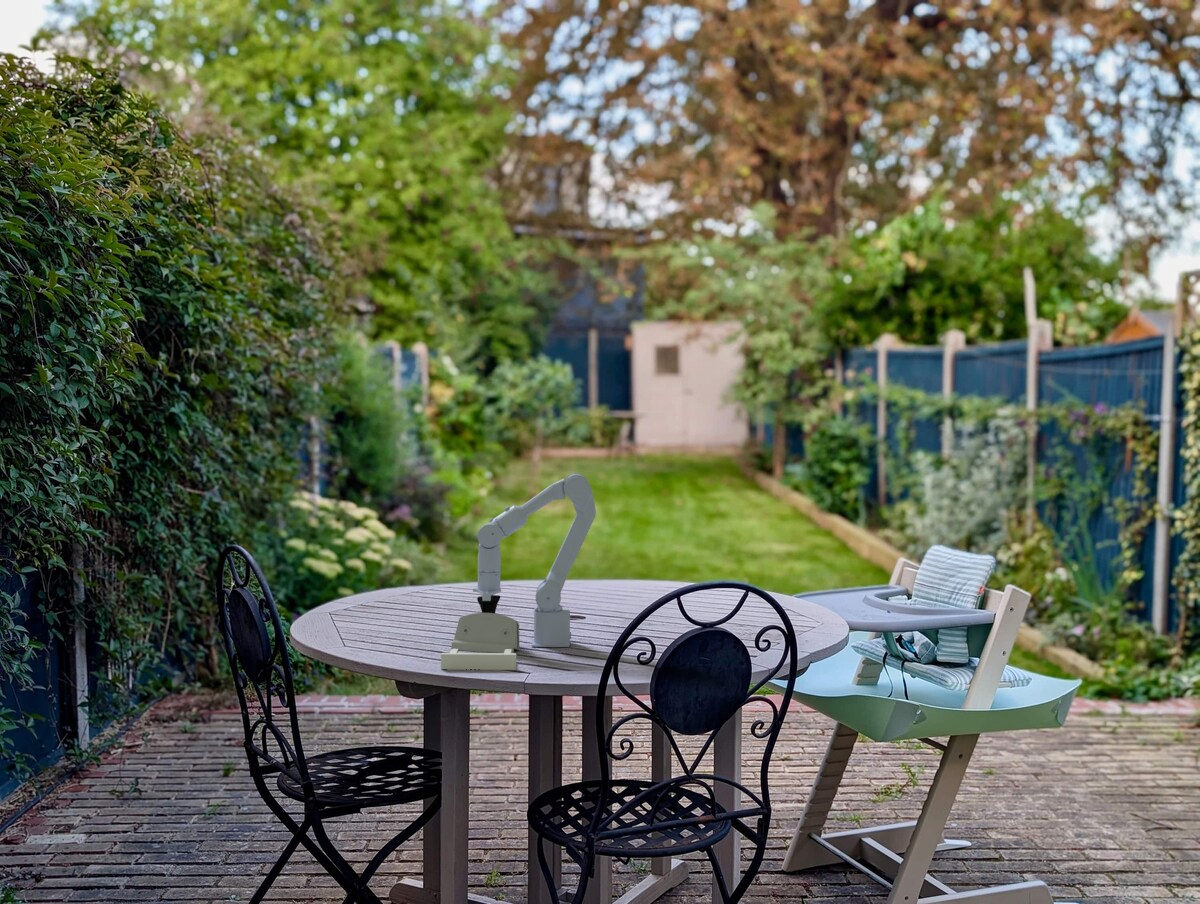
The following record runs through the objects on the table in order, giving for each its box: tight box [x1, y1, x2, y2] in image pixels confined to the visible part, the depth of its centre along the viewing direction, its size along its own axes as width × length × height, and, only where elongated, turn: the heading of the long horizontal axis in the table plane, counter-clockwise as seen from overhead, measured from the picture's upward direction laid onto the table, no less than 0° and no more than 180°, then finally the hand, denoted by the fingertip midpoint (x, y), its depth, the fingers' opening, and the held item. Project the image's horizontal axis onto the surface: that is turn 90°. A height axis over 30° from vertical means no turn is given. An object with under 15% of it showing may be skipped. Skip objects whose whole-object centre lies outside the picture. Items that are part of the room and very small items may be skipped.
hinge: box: [450, 612, 520, 653], centre depth 280 cm, size 17×5×10 cm, turn 76°
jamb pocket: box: [440, 648, 517, 671], centre depth 261 cm, size 17×8×4 cm, turn 91°
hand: (488, 624), depth 285 cm, fingers closed
